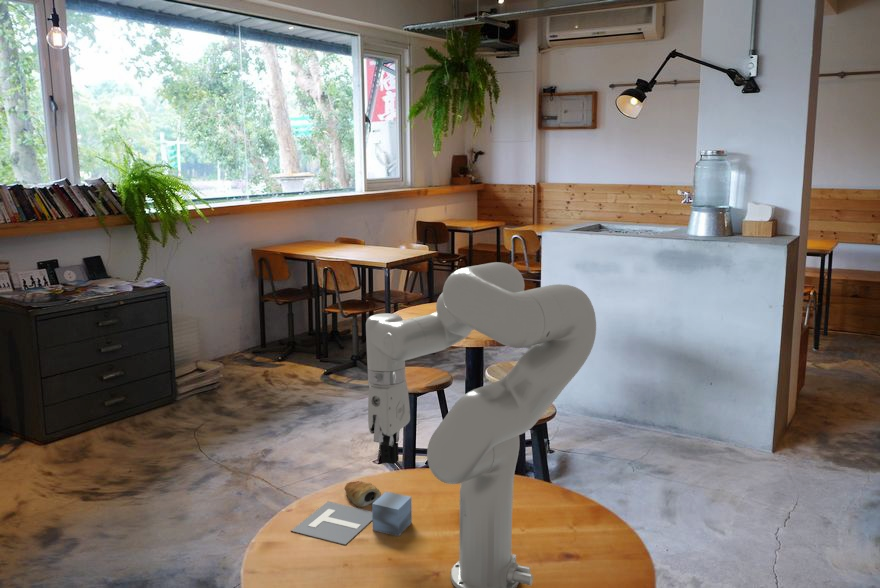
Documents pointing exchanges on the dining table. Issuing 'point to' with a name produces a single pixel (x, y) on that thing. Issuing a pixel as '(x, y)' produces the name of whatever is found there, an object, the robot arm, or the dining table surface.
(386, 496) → the slate blue cube
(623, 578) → the dining table surface
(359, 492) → the pastry
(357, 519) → the board
